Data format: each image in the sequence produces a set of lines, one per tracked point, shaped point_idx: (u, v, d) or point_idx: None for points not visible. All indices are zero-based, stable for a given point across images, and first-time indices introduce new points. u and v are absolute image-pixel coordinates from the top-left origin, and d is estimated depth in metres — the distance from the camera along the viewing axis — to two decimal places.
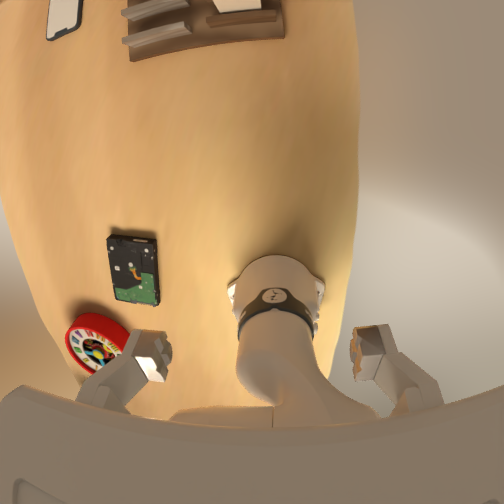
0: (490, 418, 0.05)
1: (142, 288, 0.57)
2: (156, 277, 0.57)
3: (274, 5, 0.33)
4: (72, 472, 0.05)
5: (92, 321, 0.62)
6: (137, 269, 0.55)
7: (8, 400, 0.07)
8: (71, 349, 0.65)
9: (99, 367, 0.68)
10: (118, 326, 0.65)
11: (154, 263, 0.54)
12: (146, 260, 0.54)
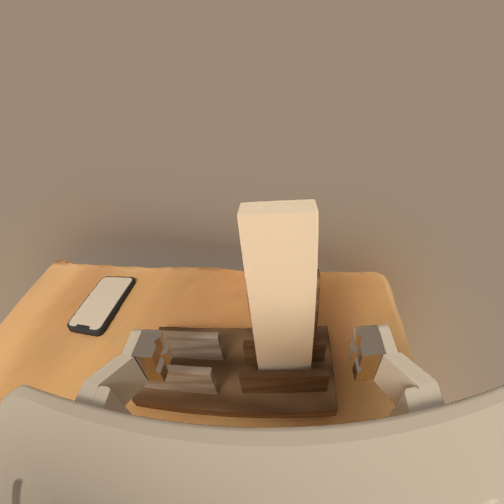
0: (490, 418, 0.05)
1: None
2: None
3: None
4: (72, 473, 0.05)
5: None
6: None
7: (8, 400, 0.07)
8: None
9: None
10: None
11: None
12: None
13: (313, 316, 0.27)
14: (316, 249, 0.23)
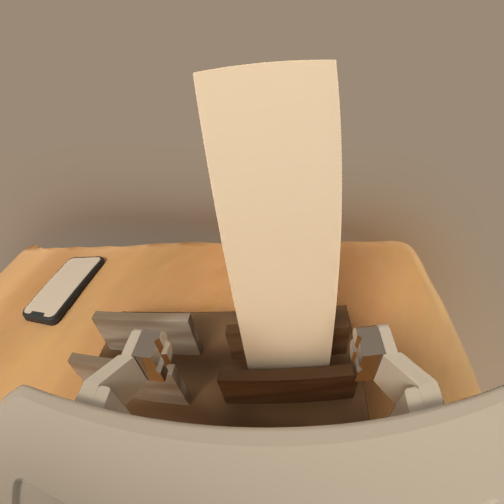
0: (490, 418, 0.05)
1: None
2: None
3: None
4: (72, 472, 0.05)
5: None
6: None
7: (8, 400, 0.07)
8: None
9: None
10: None
11: None
12: None
13: (336, 270, 0.16)
14: (338, 131, 0.12)
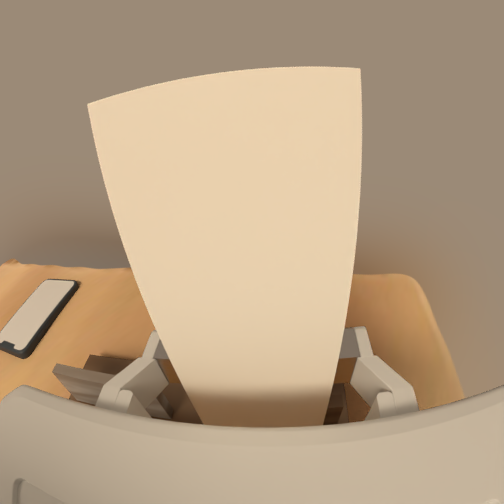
0: (490, 418, 0.05)
1: None
2: None
3: None
4: (72, 472, 0.05)
5: None
6: None
7: (8, 400, 0.07)
8: None
9: None
10: None
11: None
12: None
13: (329, 386, 0.10)
14: (354, 210, 0.07)
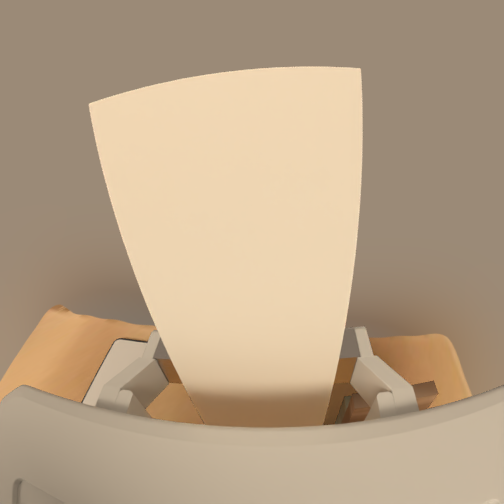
0: (490, 418, 0.05)
1: None
2: None
3: None
4: (72, 472, 0.05)
5: None
6: None
7: (8, 400, 0.07)
8: None
9: None
10: None
11: None
12: None
13: (329, 386, 0.10)
14: (354, 210, 0.07)
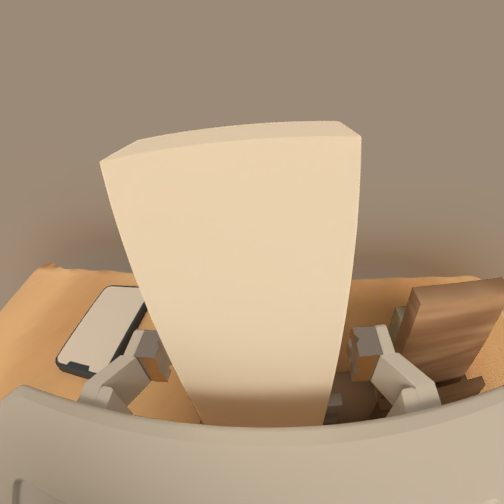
0: (490, 418, 0.05)
1: None
2: None
3: None
4: (72, 473, 0.05)
5: None
6: None
7: (8, 400, 0.07)
8: None
9: None
10: None
11: None
12: None
13: (324, 404, 0.11)
14: (348, 264, 0.07)
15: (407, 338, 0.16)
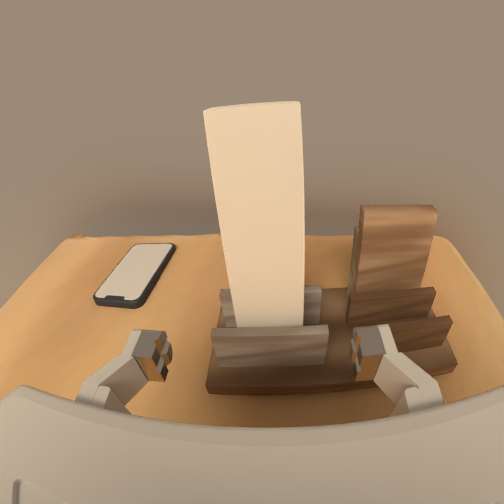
0: (490, 418, 0.05)
1: None
2: None
3: None
4: (72, 472, 0.05)
5: None
6: None
7: (8, 400, 0.07)
8: None
9: None
10: None
11: None
12: None
13: (302, 251, 0.22)
14: (301, 152, 0.18)
15: (361, 240, 0.27)
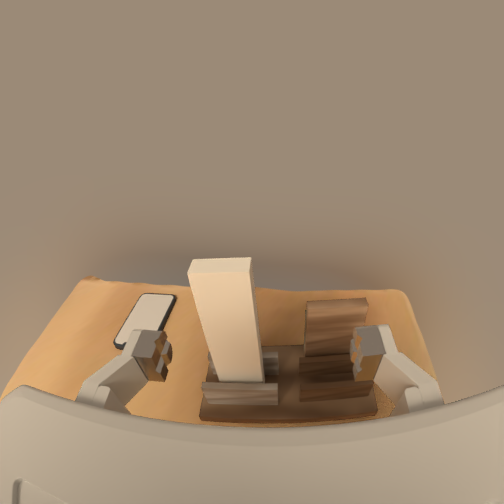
0: (490, 418, 0.05)
1: None
2: None
3: None
4: (72, 473, 0.05)
5: None
6: None
7: (8, 400, 0.07)
8: None
9: None
10: None
11: None
12: None
13: (256, 345, 0.33)
14: (251, 298, 0.29)
15: (307, 325, 0.38)
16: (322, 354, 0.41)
